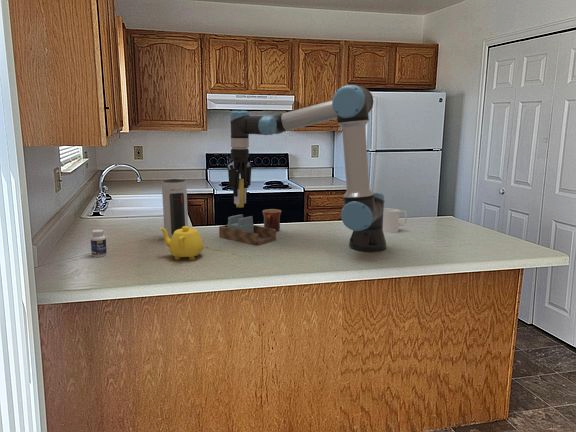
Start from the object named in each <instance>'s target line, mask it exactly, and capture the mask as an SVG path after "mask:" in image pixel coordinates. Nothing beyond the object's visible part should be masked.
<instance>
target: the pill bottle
mask: <svg viewBox="0 0 576 432" xmlns="http://www.w3.org/2000/svg"><path fill="white" fill-rule="evenodd" d="M91 232H92V235H91V237H90V246H91V249H90V250H91V256H92V257H95V258H102V257H106V256H107V253H108V252H107V238H106V235H104V229H93V230H92V231H91Z"/></svg>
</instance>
